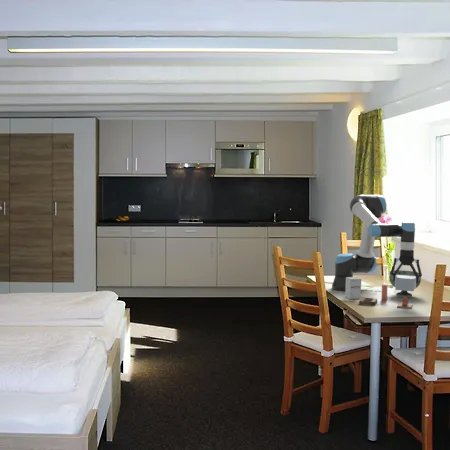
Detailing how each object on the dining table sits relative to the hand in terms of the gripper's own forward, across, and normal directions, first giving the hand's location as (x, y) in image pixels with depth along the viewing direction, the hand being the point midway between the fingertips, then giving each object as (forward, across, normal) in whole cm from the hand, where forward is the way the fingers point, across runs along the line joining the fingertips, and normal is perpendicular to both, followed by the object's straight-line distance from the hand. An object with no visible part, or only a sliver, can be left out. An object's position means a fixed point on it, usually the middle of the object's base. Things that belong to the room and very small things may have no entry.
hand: (405, 287), depth 361 cm
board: (+11, 0, -1) cm, 11 cm away
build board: (+11, -21, +1) cm, 24 cm away
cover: (+1, 0, 0) cm, 1 cm away
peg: (+11, -13, +10) cm, 20 cm away
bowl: (+12, -3, +33) cm, 36 cm away
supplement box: (+12, -32, +13) cm, 36 cm away
